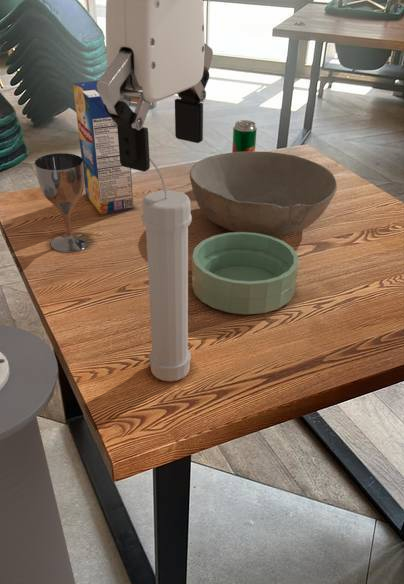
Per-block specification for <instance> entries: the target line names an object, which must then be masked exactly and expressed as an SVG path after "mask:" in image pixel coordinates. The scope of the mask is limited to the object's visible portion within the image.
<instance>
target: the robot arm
mask: <svg viewBox="0 0 404 584" xmlns="http://www.w3.org/2000/svg"><path fill="white" fill-rule="evenodd" d="M105 1H106V2H105V50H106V70H105V71H104V72H103V74H102V75H101V76H100V78H99V79H98V80H97V81H98V82H97V90H98V92H99V95H100V97H101V99H102V101H103V103H104V104H105V106H104V108H105V111H106V113H107V114H108V115H109V116H110V117H111V118H112V123H113V124H114V125H116V126H117V130H118V143H119V155H120V163H121V165H122V166H123V167H127V168H131V170H136V171H139V172H147V171H149V170H150V167H151V162H150V159H151V158H150V141H149V128H148V127H146V126H145V127H144V124H145V121H146V118H147V115H148V113H149V110H150V107H151V104H152V103H156V102H159V101H162V100H165V99H168V98H170V97H172V96H175V95H177V96H178V98H176V99H174V130H175V131H174V133H175V135H174V136H175V138H176V139H178V140H182V141H186V142H190V143H196V144H200V143H202V142H203V140H204V102H205V100H206V98H207V91H206V87H207V84H208V82H209V79H210V72H209V71H210V68H211V64H212V59H213V56H214V55H213V54H214V51H213V49H212V48H211V46H209V45H208V44H207V43H206V42H205V20H204V19H205V16H204V1H203V0H105ZM131 103H136V106H135V109H134V110H133V109H132V108H131V107H130V106H131ZM149 158H150V159H149ZM9 375H10V368H9V365H8V361H7V359H6V357H5V356H4V355H3V354H2V353H1V352H0V390H1V389H2V388H3V387H4V386H5V384H6V382H7V381H8V378H9Z"/></svg>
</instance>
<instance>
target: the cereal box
mask: <svg viewBox="0 0 404 584" xmlns="http://www.w3.org/2000/svg"><path fill="white" fill-rule="evenodd" d="M97 82H98V80H93V81H82V82H72V88H73V96H74V106H75V112H76V121H77V131H78V138H79V139H78V140H79V146H80V147H79V148H80V157H81V158H82V159H83V165H84V191H85V195H86V196H87V198H88V199H89V200H90V202H91V203H92V205H93V206H94V207H95V209H96V210H97V211H98V213H99V214H100V215H106V214H112V213H118V212H124V211H129V210H133V209H134V197H133V182H132V181H133V180H132V169H131V168H127V167H123V166H122V165H121V163H120V155H119V143H118V130H117V126H116V125H114V124H113V123H112V118H111V117H110V116H109V115H108V114H107V113H106V111H105V108H104V106H105V104H104V103H103V101H102V99H101V97H100V95H99V92H98V90H97Z"/></svg>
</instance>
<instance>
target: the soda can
mask: <svg viewBox="0 0 404 584" xmlns="http://www.w3.org/2000/svg"><path fill="white" fill-rule="evenodd" d="M232 129H233V130H232V145H231V146H232V147H231V149H232V151H231V153H233V152H248V151H256V143H257V132H258V131H257V127H256V122H254V121H252V120H245V119H244V120H243V119H242V120H241V119H240V120H238V121H235V123H234V126H233V128H232Z"/></svg>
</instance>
